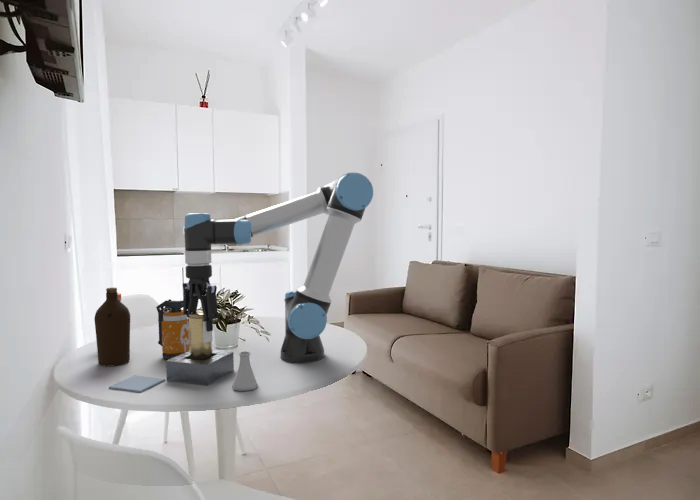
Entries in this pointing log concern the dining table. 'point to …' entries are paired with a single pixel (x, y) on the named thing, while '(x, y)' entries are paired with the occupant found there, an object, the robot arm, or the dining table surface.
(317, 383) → the dining table surface
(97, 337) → the olive oil
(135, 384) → the mat
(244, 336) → the dining table surface
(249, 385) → the flask
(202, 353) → the gold metal cylinder
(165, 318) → the canister
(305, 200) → the robot arm
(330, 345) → the dining table surface
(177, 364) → the box
